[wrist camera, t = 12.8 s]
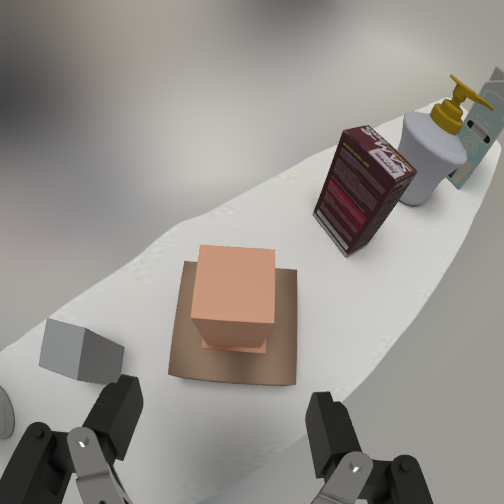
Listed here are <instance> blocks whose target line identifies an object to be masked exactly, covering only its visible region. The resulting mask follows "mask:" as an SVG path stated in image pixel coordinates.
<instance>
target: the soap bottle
mask: <svg viewBox="0 0 504 504" xmlns="http://www.w3.org/2000/svg"><path fill="white" fill-rule="evenodd" d="M450 77H451V78H452V79H453V80H454V81H455V82H456V83H457V85H456V87H455V89H454V91H453V98H452V100H448V99H445V100H443V102H442V104H435V105H434V107H433V109H432V111H431V113H430V114H424V113H420V112H415V111H412V112H409V113H406V114H405V115H404V119H403V130H402V137H401V141H400V144H399V147H398V150H397V151H398V152H399V153H400V154H401V155H402V156H403V157H404V158H405V159H406V160H407V161H408V162H409V163H410V164H411V165H412V166H413V167H414V168H415V169H416V170H417V171H418V172H417V173H416V175H415V177H414V178H413V180H412V181H411V183H410V184H409V186H408V187H407V189H406V190H405V192H404V193H403V195H402V196H401V198H400V199H399V200H401V201H402V202H404V203H406V204H410V205H418V204H422V203H423V202H425V201H426V200H427V199H428V197H429V196H430V195H431V194H432V192H433V191H434V190H435V188H436V187H437V186H438V184H439V183H440V182H441V181H442V180H443V179H444V178H445V177H446V176H448V175H449V174H450V173H451V172H453V171H454V170H456V169H457V168H459V167H461V166H463V165H464V164H465V163H466V161H467V155H466V150H465V148H464V147H463V145H462V143H461V142H460V139H459V137H458V133H459V131H460V130H461V128H462V126H463V122H462V120H461V119H460V118H461V117H462V115H463V111H462V110H461V108H460V107H459V106H460V103H461V102H464V101H465V99H466V97H468V98H469V99H471V100H473V101H474V102H476V103H479V104H481V105H483V106H485V107H487V108H488V109H490V110H491V111H493V110H494V108H493V107H492V106H491V105H490V104H489V103H488V102H487V101H486V100H485V99H483V98H482V97H480V96H479V95H477V94H476V93H475V92H474V91H473V90H471V89H470V88H468V87H467V86H465V85H464V84H463V83H462V82H460V81H459V80H458V79H457V78H455V77H454V76H453V75H450Z"/></svg>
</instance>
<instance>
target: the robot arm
mask: <svg viewBox="0 0 504 504" xmlns="http://www.w3.org/2000/svg"><path fill="white" fill-rule="evenodd" d="M142 409H143V396H142V392H141V388H140V383H139V379H138V378H137V377H134V376H129V375H124V374H122V375H121V376H120V378H119V379H118V381H117V383H113V382H111V383H109V384H108V385H107V386H106V387H104V388H103V390H102V392H101V393H100V395H99V397H98V399H97V400H96V403H95V404H94V406H93V408H92V409H91V411H90V413H89V415H88V417H87V418H86V420H85V422H84V424H83V425H82V427H77V428H74V429H73V430H71V431H70V432H69V433H66V432H57V431H51V429H50V428H49V426H48V425H46V424H45V423H42V422H35V423H32V424H31V425H29V426H28V428H27V429H26V431H25V433H24V435H23V436H22V438H21V440H20V442H19V444H18V445H17V447H16V449H15V451H14V453H13V455H12V457H11V459H10V461H9V463H8V465H7V467H6V469H5V471H4V473H3V475H2V477H1V479H0V504H62V501H63V498H64V495H65V492H66V489H67V486H68V483H69V480H70V478H71V475H72V473H77V476H78V479H76V484H77V487H78V490H79V492H80V495H81V498H82V500H83V503H84V504H133V502H132V501H131V499H130V498H129V496H128V494H127V492H126V490H125V489H124V487H123V485H122V482H121V480H120V478H119V476H118V474H117V472H116V470H115V468H114V465H113V464H114V462H115V459H118V460H121V461H123V460H124V457H125V455H126V452H127V449H128V446H129V444H130V441H131V438H132V436H133V433H134V430H135V428H136V425H137V422H138V420H139V417H140V415H141V412H142ZM305 421H306V428H307V433H308V438H309V443H310V448H311V453H312V458H313V464H314V469H315V474H316V478H324V481H325V484H324V486H323V487H322V489H321V490H320V492H319V493H318V494H317V496H316V497H315V498H314V500H313V501H312V502H311V504H354V503H355V501H356V499H367V502H368V504H433V501H432V498H431V495H430V493H429V490H428V487H427V484H426V481H425V479H424V476H423V473H422V471H421V468H420V466H419V463H418V461H417V460H416V459H415V458H414V457H412V456H410V455H400V456H398V457H396V458H395V459H394V460H393V461H379V460H373V459H371V458H370V457H369V456H368V455H367V454H365V453H363V452H362V450H361V448H360V445H359V442H358V439H357V436H356V433H355V431H354V428H353V426H352V422H351V419H350V417H349V414H348V411H347V409H346V407H345V406H344V405H343V404H342V403H341V402H340V401H338V402H333V399H332V396H331V393H330V392H313V394H312V396H311V399H310V402H309V406H308V409H307V412H306V418H305ZM13 428H14V415H13V410H12V406H11V403H10V401H9V398H8V396H7V394H6V393H5V391H4V390H3V389H2V388H1V387H0V439H3V438H8V437H9V436H10V435H11V434H12V432H13Z"/></svg>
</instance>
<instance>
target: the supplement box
mask: <svg viewBox="0 0 504 504" xmlns="http://www.w3.org/2000/svg"><path fill="white" fill-rule="evenodd" d="M417 172H418V171H417V170H416V169H415V168H414V167H413V166H412V165H411V164H410V163H409V162H408V161H407V160H406V159H405V158H404V157H403V156H402V155H401V154H400V153H399V152H398V151H397V150H396V149H394V148H393V147H392V146H391V145H390V144H389V143H388V142H387V141H386V140H385V139H384V138H382V137H381V136H380V135H379V134H378V133H377V132H376V131H374V130H373V129H372V128H371V127H370V126H369V125H368V126H361V127H356V128H351V129H347V130H343V132H342V135H341V138H340V141H339V144H338V147H337V149H336V152H335V155H334V158H333V161H332V164H331V166H330V169H329V172H328V175H327V177H326V180H325V183H324V186H323V188H322V191H321V194H320V197H319V199H318V202H317V204H316V207H315V210H314V212H313V216H314V217H315V218H316V219H317V221H318V222H319V223H320V224H321V226H322V227H323V228H324V229H325V231H326V232H327V233H328V235H329V236H330V237H331V238H332V240H333V241H334V242H335V244H336V245H337V246H338V248H339V249H340V250H341V252H342V253H343V254H344V256H345V257H348V256H350V255H351V254H353V253H355V252H356V251H358V250H359V249H361V248H363V247H364V246H366V245H367V244H368V243H369V241H370V240H371V239H372V237H373V236H374V235H375V233H376V232H377V231H378V229H379V228H380V226H381V225H382V224H383V222H384V221H385V220H386V218H387V217H388V215H389V214H390V212H391V211H392V210H393V208H394V207H395V205H396V204H397V202H398V201H399V199H400V198H401V196H402V195H403V193H404V192H405V190H406V189H407V187H408V186H409V184H410V183H411V181H412V180H413V178H414V177H415V175H416V173H417Z"/></svg>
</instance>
